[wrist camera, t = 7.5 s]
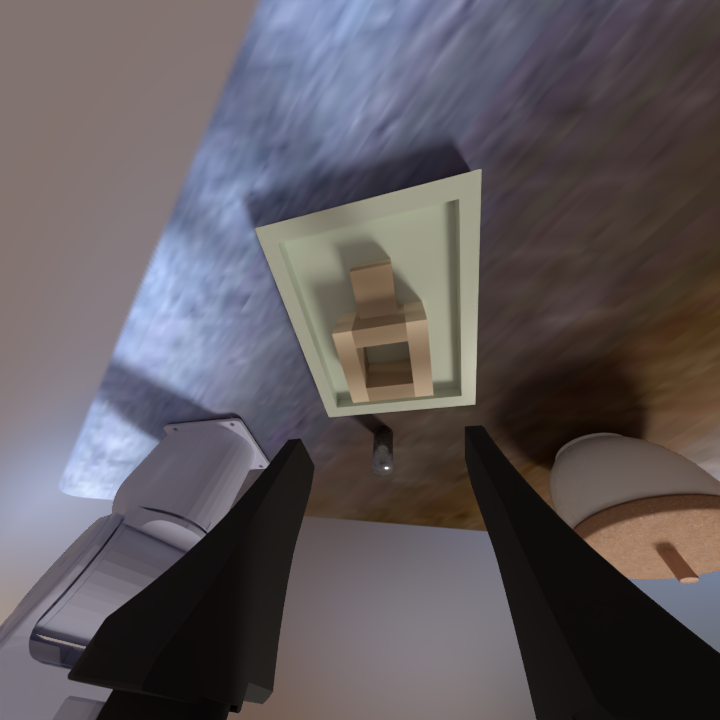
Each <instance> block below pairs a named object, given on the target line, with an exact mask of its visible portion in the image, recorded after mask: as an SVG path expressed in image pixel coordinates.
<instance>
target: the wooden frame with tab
mask: <svg viewBox="0 0 720 720" xmlns="http://www.w3.org/2000/svg"><path fill="white" fill-rule="evenodd" d="M349 273H350V278H351V282H352V286H353V290H354V295H355V299H356V303H357V308H358V311H357V312H351V313H345V314H340V316H339V318H338V321H337V323H336V326H335V328H334V330H333V333H332V336H333V339H334V342H335V346H336V349H337V352H338V355H339V359H340V362H341V365H342V368H343V372H344V375H345V378H346V381H347V385H348V388H349V391H350V394H351V398H352V401H353V403H357V402H368V401H379V400H389V399H400V398H410V397H421V396H431V395H434V394H433V382H432V370H431V358H430V346H429V333H428V321H427V317H426V313H425V310H424V306H423V303H422V301H416V302H410V303H404V304H398V305H397V299H396V292H395V285H394V278H393V271H392V264H391V258H389V259H384V260H379V261H374V262H369V263H365V264H360V265H355V266H352V268H351V270H350V272H349ZM405 341H408V344H409V352H410V359H403V360H395V361H387V362H379V363H371V364H369V361H368V357H367V353H366V348H365V347H369V346H376V345H383V344H390V343H398V342H405Z"/></svg>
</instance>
